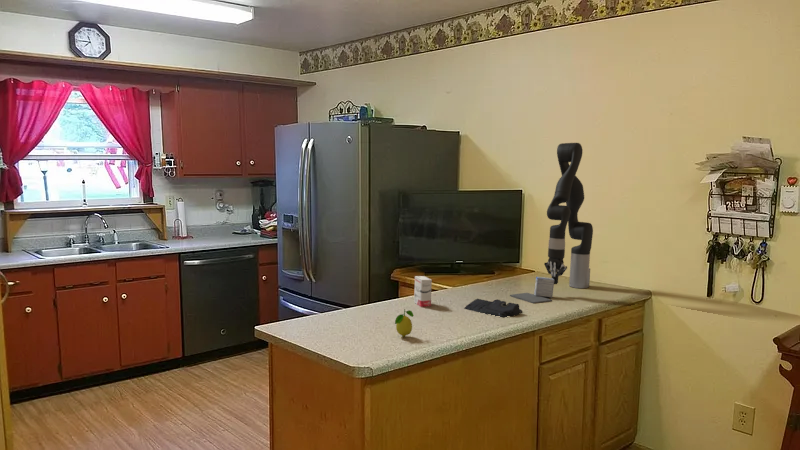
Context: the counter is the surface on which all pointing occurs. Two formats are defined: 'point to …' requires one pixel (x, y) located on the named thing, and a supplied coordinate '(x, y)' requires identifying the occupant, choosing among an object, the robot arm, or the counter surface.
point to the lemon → (404, 323)
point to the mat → (530, 298)
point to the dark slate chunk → (494, 307)
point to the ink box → (422, 291)
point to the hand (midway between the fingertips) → (554, 283)
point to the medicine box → (544, 286)
